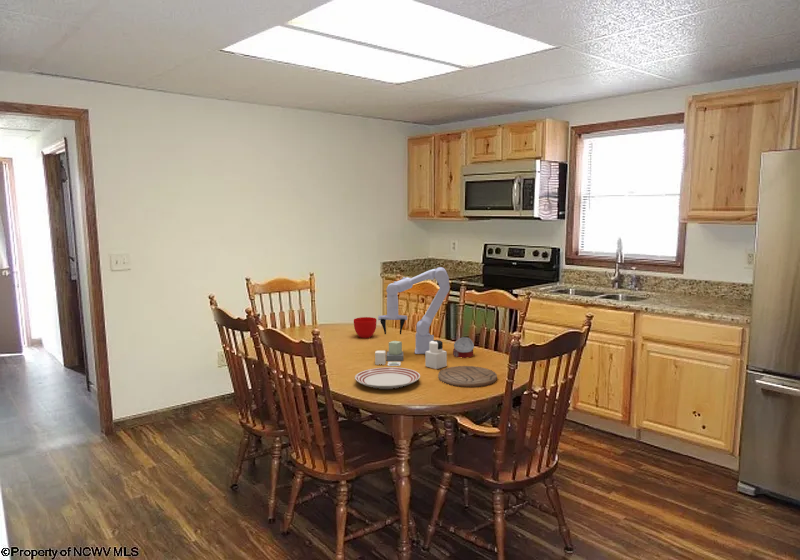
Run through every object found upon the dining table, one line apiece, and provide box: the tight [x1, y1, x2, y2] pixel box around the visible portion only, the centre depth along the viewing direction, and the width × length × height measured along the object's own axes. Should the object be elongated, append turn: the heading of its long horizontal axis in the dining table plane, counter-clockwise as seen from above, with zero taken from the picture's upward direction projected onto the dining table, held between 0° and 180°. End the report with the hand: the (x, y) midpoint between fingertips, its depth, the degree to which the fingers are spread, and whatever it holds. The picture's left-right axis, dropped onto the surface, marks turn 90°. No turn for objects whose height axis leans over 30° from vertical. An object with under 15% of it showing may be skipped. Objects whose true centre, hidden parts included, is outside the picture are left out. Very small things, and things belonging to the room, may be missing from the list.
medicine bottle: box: [424, 339, 448, 370], centre depth 254 cm, size 7×7×12 cm
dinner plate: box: [354, 366, 421, 390], centre depth 232 cm, size 27×27×3 cm
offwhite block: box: [374, 350, 387, 366], centre depth 260 cm, size 5×5×6 cm
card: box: [387, 361, 402, 367], centre depth 259 cm, size 6×6×1 cm
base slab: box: [386, 350, 404, 362], centre depth 268 cm, size 8×8×3 cm
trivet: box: [437, 365, 498, 388], centre depth 237 cm, size 25×25×2 cm
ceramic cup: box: [353, 316, 378, 339], centre depth 315 cm, size 13×17×10 cm
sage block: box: [388, 340, 403, 355], centre depth 267 cm, size 5×5×6 cm
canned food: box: [452, 336, 475, 359], centre depth 273 cm, size 11×10×10 cm
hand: (392, 333), depth 279 cm, fingers open, 7 cm apart
